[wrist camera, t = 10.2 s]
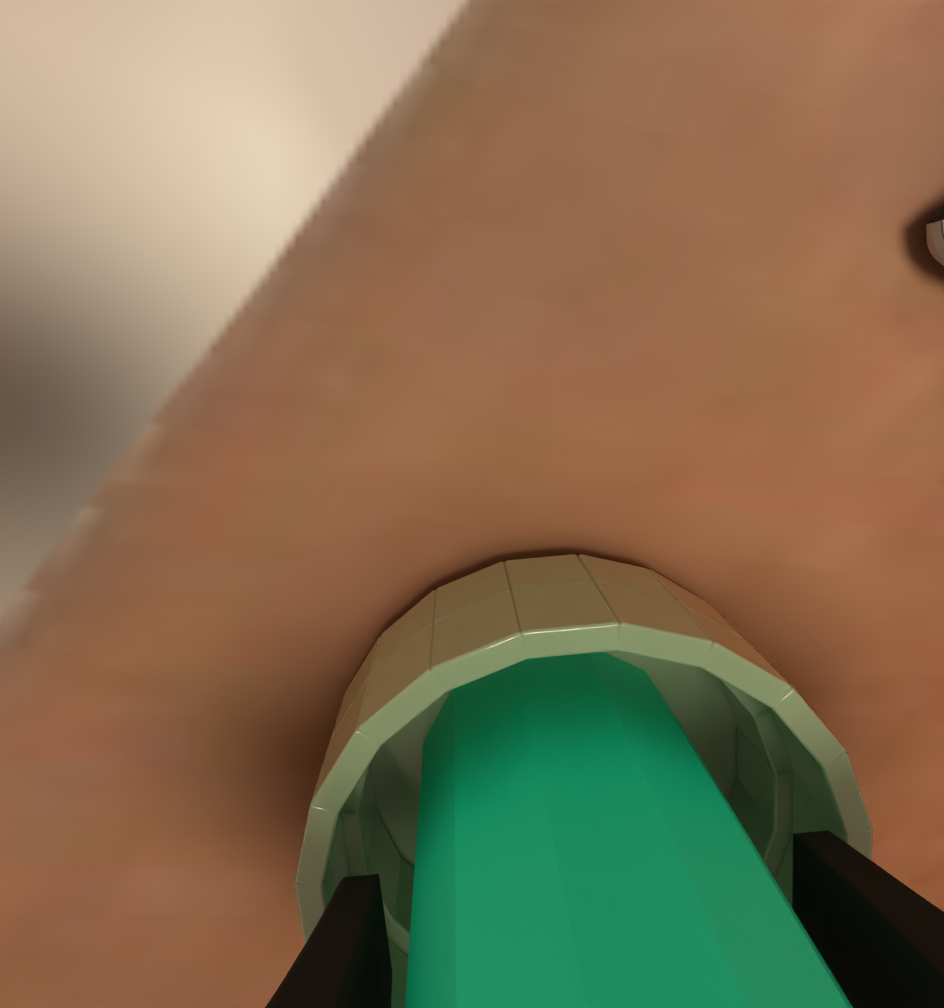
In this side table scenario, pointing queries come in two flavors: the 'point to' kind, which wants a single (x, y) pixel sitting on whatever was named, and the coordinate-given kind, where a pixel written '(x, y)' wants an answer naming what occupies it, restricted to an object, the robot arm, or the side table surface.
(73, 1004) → the side table surface
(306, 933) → the bowl
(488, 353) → the side table surface
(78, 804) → the side table surface
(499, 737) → the candle
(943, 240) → the game controller
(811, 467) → the side table surface
